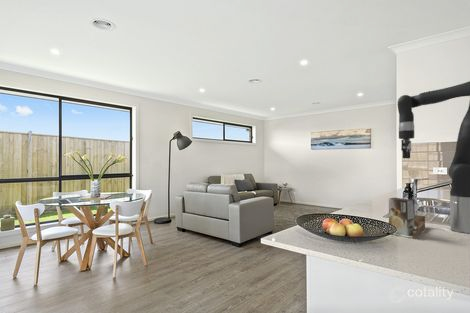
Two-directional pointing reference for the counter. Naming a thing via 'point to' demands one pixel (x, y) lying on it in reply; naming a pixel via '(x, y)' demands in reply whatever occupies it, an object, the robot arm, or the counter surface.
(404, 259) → the counter surface
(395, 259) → the counter surface
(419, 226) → the rack bay
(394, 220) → the coffee box
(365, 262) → the counter surface
